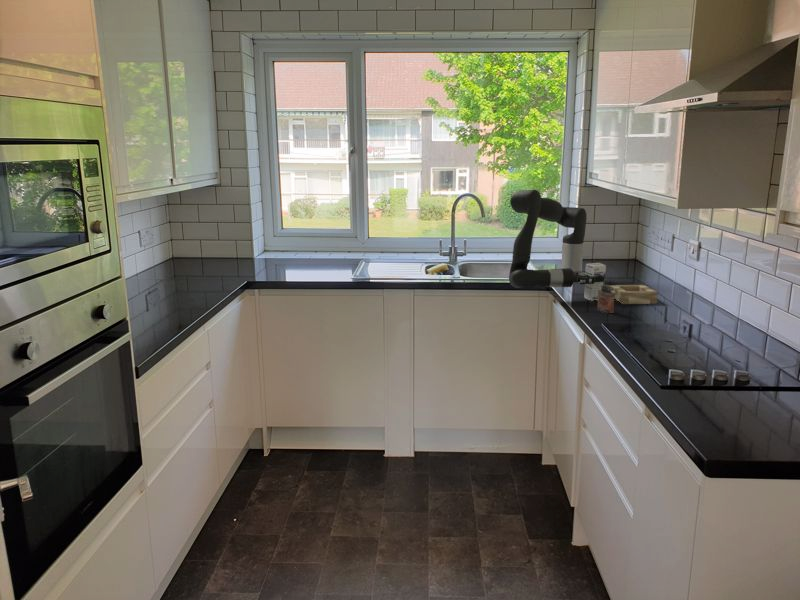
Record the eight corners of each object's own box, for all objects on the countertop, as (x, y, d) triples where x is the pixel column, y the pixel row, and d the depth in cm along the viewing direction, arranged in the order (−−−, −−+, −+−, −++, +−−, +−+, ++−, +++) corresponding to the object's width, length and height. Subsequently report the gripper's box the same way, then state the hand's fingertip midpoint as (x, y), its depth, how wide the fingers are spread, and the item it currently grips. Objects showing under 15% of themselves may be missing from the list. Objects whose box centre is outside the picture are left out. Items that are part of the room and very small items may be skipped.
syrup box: (591, 301, 251) (593, 265, 248) (583, 297, 257) (585, 263, 253) (604, 300, 253) (606, 264, 249) (595, 296, 258) (598, 262, 254)
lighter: (594, 309, 239) (596, 283, 237) (601, 308, 240) (603, 282, 238) (608, 314, 232) (610, 287, 229) (616, 313, 233) (617, 287, 231)
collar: (608, 295, 260) (609, 285, 259) (642, 295, 260) (643, 284, 259) (621, 304, 246) (622, 293, 245) (656, 303, 246) (657, 292, 245)
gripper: (565, 272, 244) (607, 271, 245) (555, 265, 258) (595, 264, 259) (564, 291, 246) (606, 290, 246) (554, 283, 260) (594, 282, 260)
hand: (600, 277), depth 252 cm, fingers closed on syrup box, 6 cm apart
